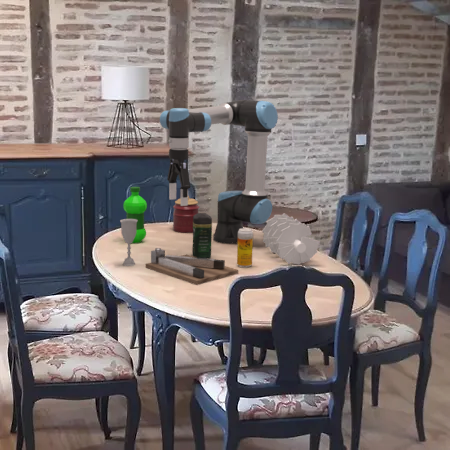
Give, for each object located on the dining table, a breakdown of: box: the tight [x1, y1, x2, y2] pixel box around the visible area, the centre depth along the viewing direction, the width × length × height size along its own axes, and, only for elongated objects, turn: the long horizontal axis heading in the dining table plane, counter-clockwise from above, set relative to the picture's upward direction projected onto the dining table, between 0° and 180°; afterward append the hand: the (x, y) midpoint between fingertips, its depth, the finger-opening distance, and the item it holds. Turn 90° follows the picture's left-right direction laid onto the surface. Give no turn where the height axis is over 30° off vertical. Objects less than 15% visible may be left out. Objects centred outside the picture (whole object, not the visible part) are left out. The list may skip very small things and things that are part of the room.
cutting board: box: [145, 254, 239, 285], centre depth 272 cm, size 22×30×2 cm
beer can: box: [236, 227, 254, 268], centre depth 278 cm, size 6×6×15 cm
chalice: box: [119, 218, 138, 267], centre depth 276 cm, size 7×7×18 cm
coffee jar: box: [191, 212, 213, 259], centre depth 290 cm, size 10×8×19 cm
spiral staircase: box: [261, 212, 321, 266], centre depth 290 cm, size 18×18×25 cm
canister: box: [172, 195, 200, 234], centre depth 337 cm, size 13×13×18 cm
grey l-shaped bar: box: [150, 247, 204, 279], centre depth 267 cm, size 28×5×6 cm, turn 45°
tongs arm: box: [165, 254, 226, 269], centre depth 272 cm, size 24×2×3 cm, turn 75°
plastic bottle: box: [122, 186, 148, 244], centre depth 312 cm, size 10×10×25 cm
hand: (178, 202), depth 272 cm, fingers open, 13 cm apart
